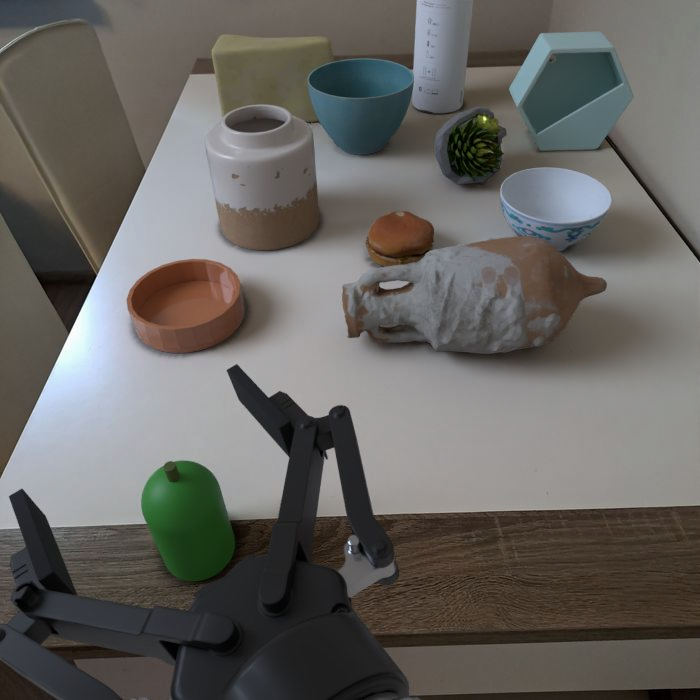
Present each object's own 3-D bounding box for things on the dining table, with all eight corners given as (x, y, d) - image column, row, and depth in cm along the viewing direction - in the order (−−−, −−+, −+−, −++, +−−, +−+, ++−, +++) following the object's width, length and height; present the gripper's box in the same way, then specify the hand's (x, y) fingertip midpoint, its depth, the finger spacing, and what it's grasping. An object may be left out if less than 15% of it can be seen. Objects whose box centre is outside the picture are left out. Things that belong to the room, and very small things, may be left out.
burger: (381, 276, 89) (381, 248, 86) (357, 241, 96) (357, 214, 93) (445, 261, 92) (448, 233, 89) (418, 228, 98) (419, 200, 95)
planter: (552, 174, 118) (502, 80, 106) (542, 154, 123) (494, 63, 112) (644, 122, 111) (602, 16, 99) (630, 103, 117) (589, 1, 105)
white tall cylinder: (473, 102, 131) (489, -45, 113) (443, 120, 125) (455, -33, 107) (431, 89, 136) (440, -53, 118) (400, 105, 130) (405, -42, 112)
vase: (321, 196, 105) (314, 94, 94) (317, 250, 94) (308, 142, 83) (228, 198, 106) (210, 97, 94) (213, 252, 95) (190, 145, 83)
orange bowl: (140, 365, 78) (131, 340, 75) (130, 295, 88) (122, 271, 85) (255, 337, 81) (250, 313, 78) (233, 273, 91) (229, 249, 88)
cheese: (340, 108, 130) (337, 29, 120) (336, 129, 123) (333, 47, 113) (232, 108, 132) (219, 30, 121) (222, 130, 125) (208, 48, 114)
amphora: (642, 285, 66) (355, 236, 64) (585, 405, 75) (330, 365, 73) (602, 232, 78) (357, 189, 76) (557, 342, 87) (336, 306, 85)
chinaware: (472, 230, 97) (478, 184, 92) (549, 203, 102) (558, 157, 97) (540, 283, 87) (551, 234, 82) (621, 249, 92) (636, 202, 87)
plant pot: (328, 119, 127) (324, 54, 118) (419, 127, 123) (422, 60, 115) (299, 162, 114) (293, 93, 106) (400, 172, 110) (402, 102, 102)
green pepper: (168, 591, 57) (130, 512, 48) (160, 529, 62) (124, 445, 53) (241, 568, 59) (217, 487, 50) (228, 509, 63) (204, 424, 54)
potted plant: (505, 136, 112) (547, 151, 99) (453, 192, 114) (487, 214, 101) (461, 85, 106) (499, 94, 93) (407, 145, 109) (437, 162, 96)
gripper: (68, 1052, 22) (-37, 602, 36) (566, 600, 31) (323, 378, 45) (-61, 1048, 17) (-124, 528, 32) (575, 511, 26) (299, 293, 40)
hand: (138, 440), depth 38 cm, fingers open, 13 cm apart
